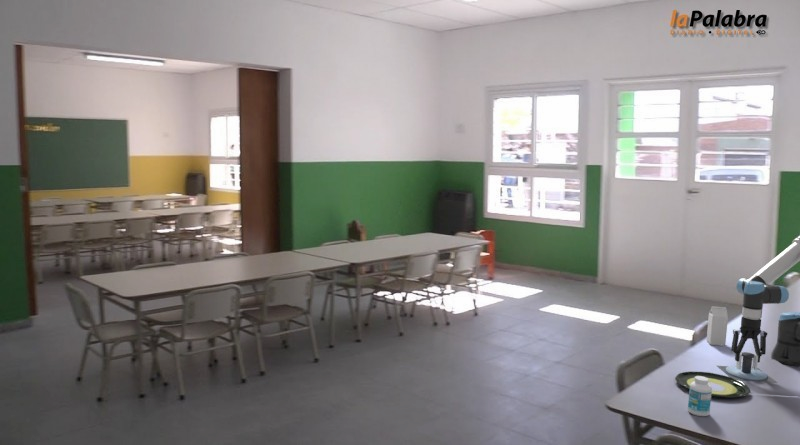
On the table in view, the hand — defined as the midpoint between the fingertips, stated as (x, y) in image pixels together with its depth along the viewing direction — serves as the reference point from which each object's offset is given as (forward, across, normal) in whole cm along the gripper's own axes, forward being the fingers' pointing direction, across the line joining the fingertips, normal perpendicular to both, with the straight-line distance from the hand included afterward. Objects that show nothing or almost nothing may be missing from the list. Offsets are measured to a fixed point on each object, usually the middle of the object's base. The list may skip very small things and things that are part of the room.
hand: (746, 368), depth 280 cm
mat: (+3, 0, 0) cm, 3 cm away
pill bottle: (+3, +36, +45) cm, 58 cm away
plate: (+4, +21, +18) cm, 28 cm away
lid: (+2, 0, 0) cm, 2 cm away
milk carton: (+3, -5, -46) cm, 46 cm away
